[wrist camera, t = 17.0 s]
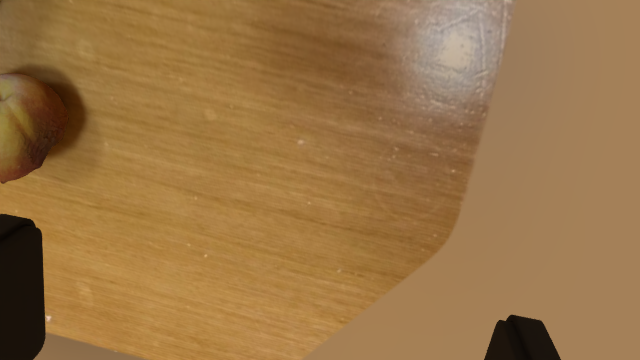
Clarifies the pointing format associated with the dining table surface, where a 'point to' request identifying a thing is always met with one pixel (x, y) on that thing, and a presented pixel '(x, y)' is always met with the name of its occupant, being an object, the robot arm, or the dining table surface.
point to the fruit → (27, 124)
